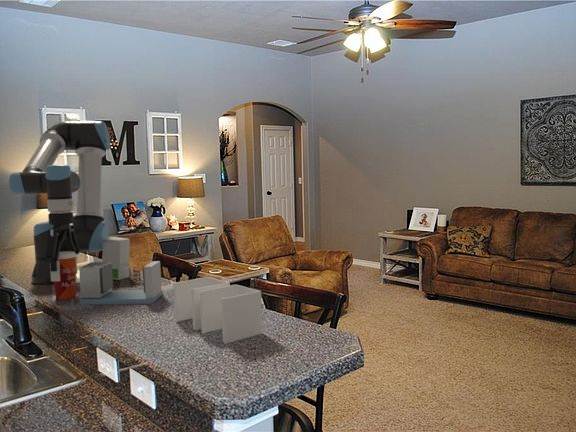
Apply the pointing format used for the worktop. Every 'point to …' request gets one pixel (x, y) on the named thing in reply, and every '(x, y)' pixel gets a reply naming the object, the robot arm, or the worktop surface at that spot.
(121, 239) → the skincare box
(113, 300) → the base
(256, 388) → the worktop surface
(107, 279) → the block
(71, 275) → the coffee cup
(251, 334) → the grey rectangular blocks
